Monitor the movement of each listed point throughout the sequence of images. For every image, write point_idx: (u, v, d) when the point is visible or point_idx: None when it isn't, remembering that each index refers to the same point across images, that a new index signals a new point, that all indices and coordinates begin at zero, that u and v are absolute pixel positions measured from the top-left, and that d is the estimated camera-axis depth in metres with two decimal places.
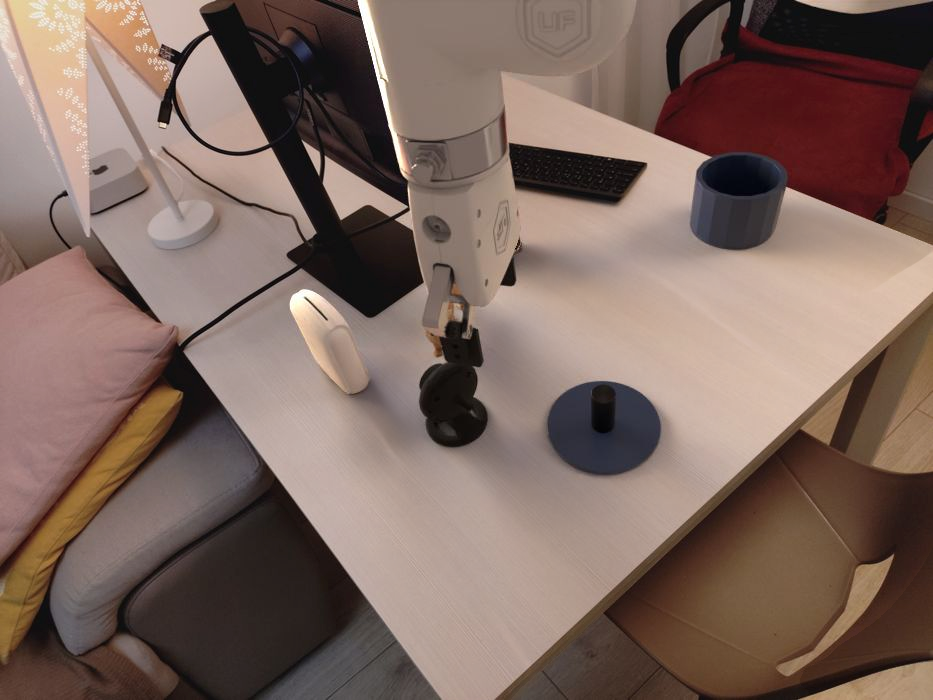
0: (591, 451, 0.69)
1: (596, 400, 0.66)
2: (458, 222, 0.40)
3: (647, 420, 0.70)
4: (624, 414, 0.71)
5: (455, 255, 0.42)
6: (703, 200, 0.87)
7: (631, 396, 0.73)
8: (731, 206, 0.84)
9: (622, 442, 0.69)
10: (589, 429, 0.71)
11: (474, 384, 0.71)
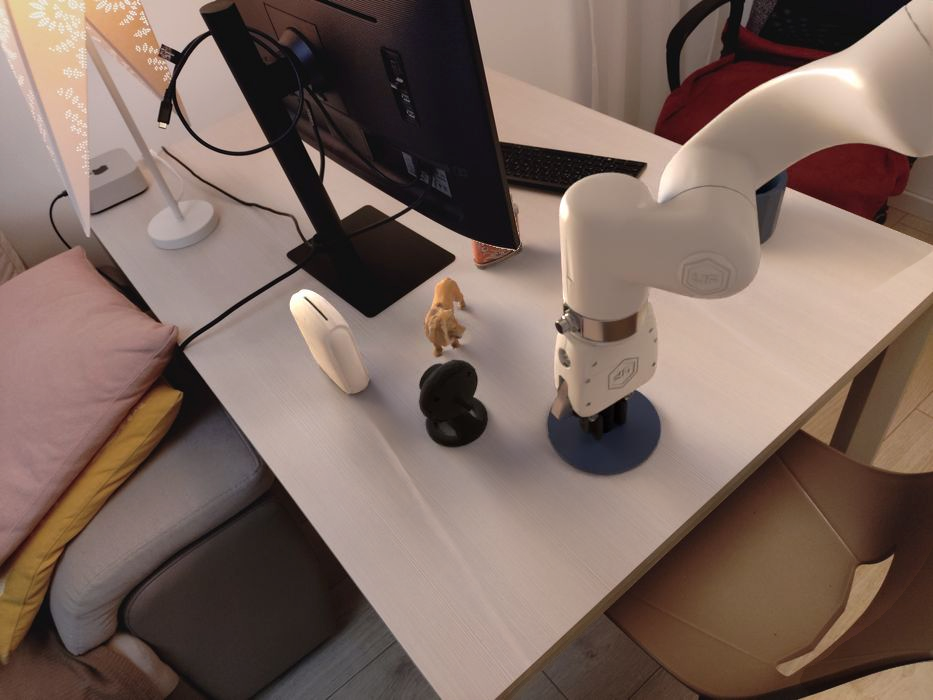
0: (591, 451, 0.69)
1: None
2: (576, 363, 0.58)
3: (647, 420, 0.70)
4: None
5: (570, 379, 0.60)
6: None
7: None
8: None
9: (622, 442, 0.69)
10: None
11: (474, 384, 0.71)
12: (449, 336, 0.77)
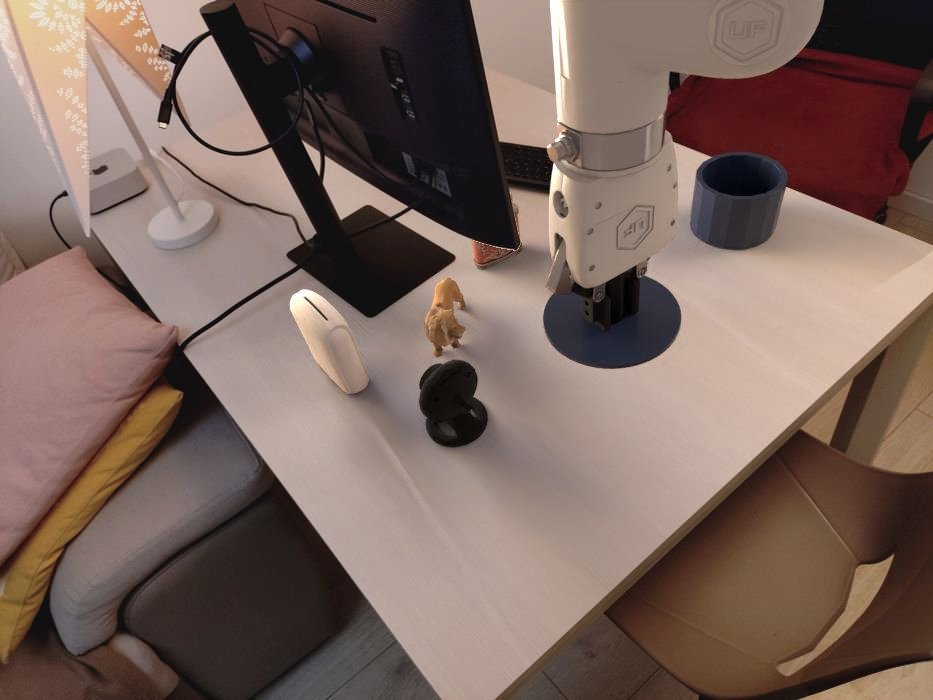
0: (597, 343, 0.56)
1: None
2: (575, 205, 0.45)
3: (664, 308, 0.58)
4: None
5: (568, 232, 0.47)
6: (703, 200, 0.87)
7: (644, 284, 0.60)
8: (731, 206, 0.84)
9: (634, 333, 0.56)
10: None
11: (474, 384, 0.71)
12: (449, 336, 0.77)
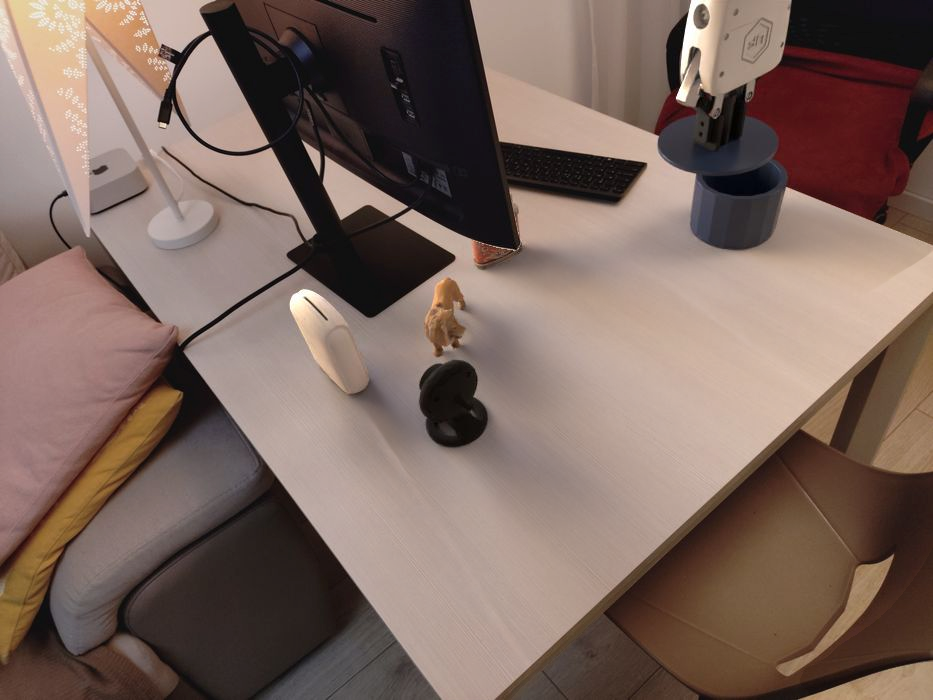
0: (709, 159, 0.68)
1: None
2: (717, 12, 0.57)
3: (762, 133, 0.69)
4: None
5: (706, 41, 0.59)
6: (703, 200, 0.87)
7: None
8: (731, 206, 0.84)
9: (740, 150, 0.68)
10: None
11: (474, 384, 0.71)
12: (449, 336, 0.77)
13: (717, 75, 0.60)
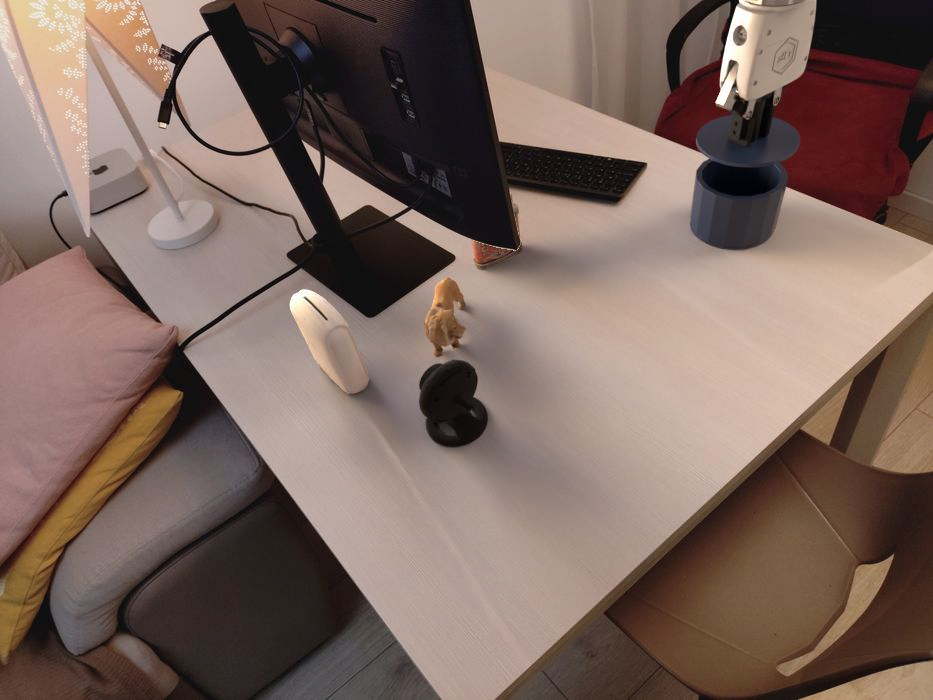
0: (741, 153, 0.80)
1: None
2: (753, 33, 0.69)
3: (786, 132, 0.82)
4: None
5: (743, 55, 0.71)
6: (703, 200, 0.87)
7: None
8: (731, 206, 0.84)
9: (767, 146, 0.80)
10: None
11: (474, 384, 0.71)
12: (449, 336, 0.77)
13: (751, 84, 0.72)
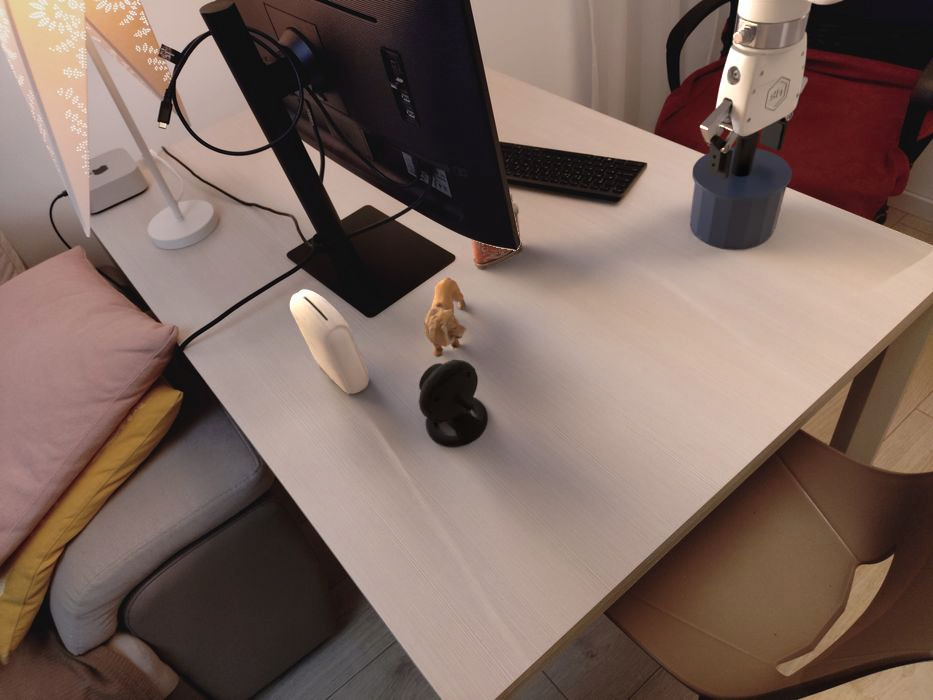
0: (735, 187, 0.84)
1: (743, 138, 0.81)
2: (746, 73, 0.72)
3: (778, 166, 0.85)
4: (758, 164, 0.86)
5: (737, 94, 0.74)
6: (703, 200, 0.87)
7: (761, 154, 0.88)
8: (731, 206, 0.84)
9: (760, 180, 0.84)
10: (730, 175, 0.86)
11: (474, 384, 0.71)
12: (449, 336, 0.77)
13: (745, 120, 0.76)
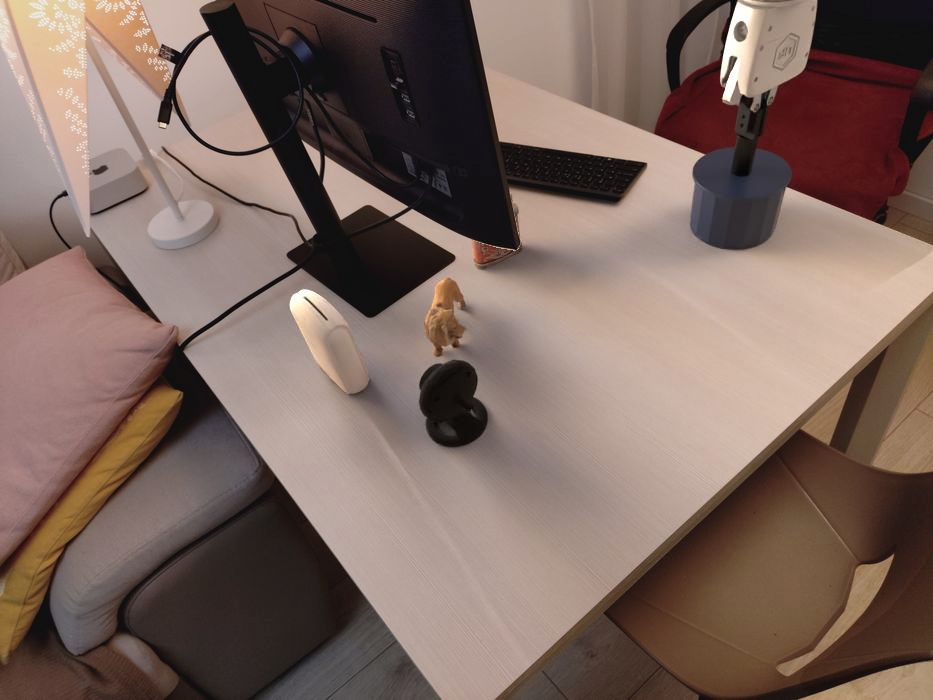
0: (735, 187, 0.84)
1: (743, 138, 0.81)
2: (754, 28, 0.69)
3: (778, 166, 0.85)
4: (758, 164, 0.86)
5: (744, 51, 0.71)
6: (703, 200, 0.87)
7: (761, 154, 0.88)
8: (731, 206, 0.84)
9: (760, 180, 0.84)
10: (730, 175, 0.86)
11: (474, 384, 0.71)
12: (449, 336, 0.77)
13: (752, 80, 0.72)
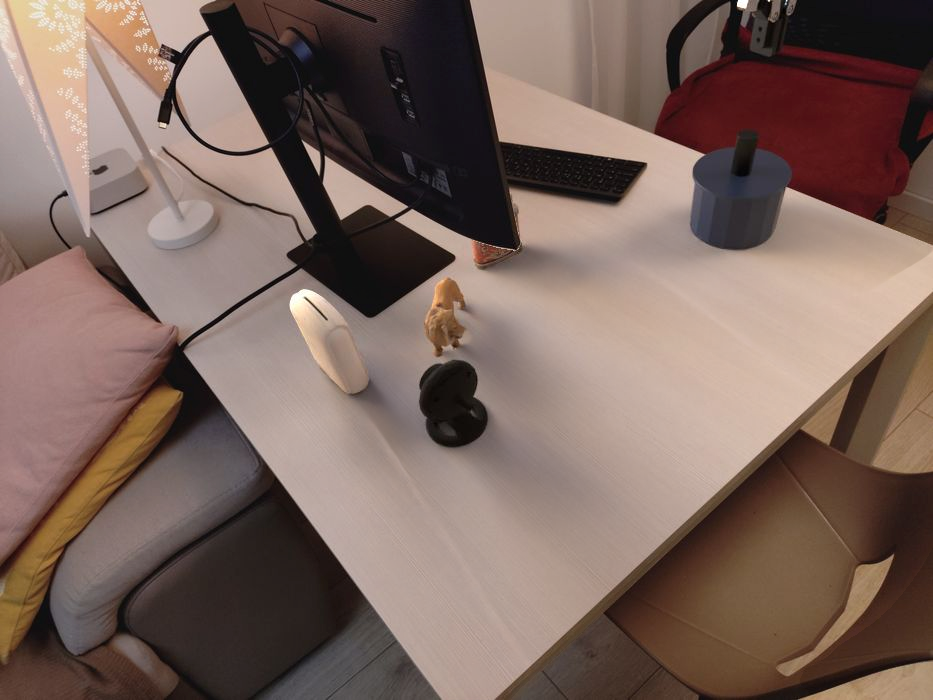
0: (735, 187, 0.84)
1: (743, 138, 0.81)
2: None
3: (778, 166, 0.85)
4: (758, 164, 0.86)
5: None
6: (703, 200, 0.87)
7: (761, 154, 0.88)
8: (731, 206, 0.84)
9: (760, 180, 0.84)
10: (730, 175, 0.86)
11: (474, 384, 0.71)
12: (449, 336, 0.77)
13: None
